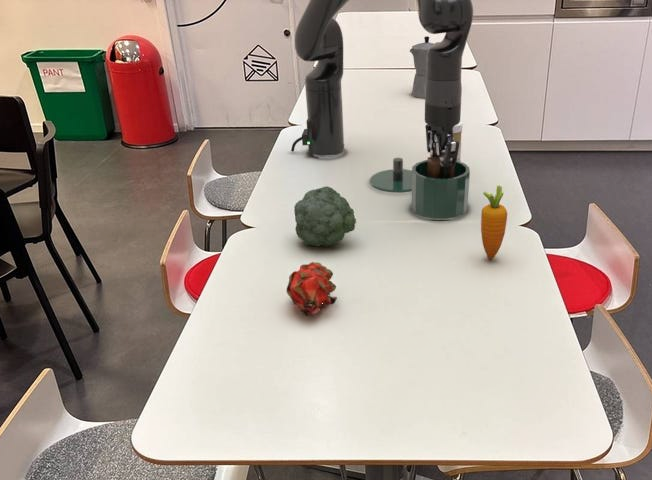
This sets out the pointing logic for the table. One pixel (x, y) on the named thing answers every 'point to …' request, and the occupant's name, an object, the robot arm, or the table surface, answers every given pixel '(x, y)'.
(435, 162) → the block
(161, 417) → the table surface
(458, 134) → the sprinkles bottle
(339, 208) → the vegetable
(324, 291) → the dragon fruit
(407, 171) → the lid
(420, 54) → the coffeepot
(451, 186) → the pot
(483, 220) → the carrot
